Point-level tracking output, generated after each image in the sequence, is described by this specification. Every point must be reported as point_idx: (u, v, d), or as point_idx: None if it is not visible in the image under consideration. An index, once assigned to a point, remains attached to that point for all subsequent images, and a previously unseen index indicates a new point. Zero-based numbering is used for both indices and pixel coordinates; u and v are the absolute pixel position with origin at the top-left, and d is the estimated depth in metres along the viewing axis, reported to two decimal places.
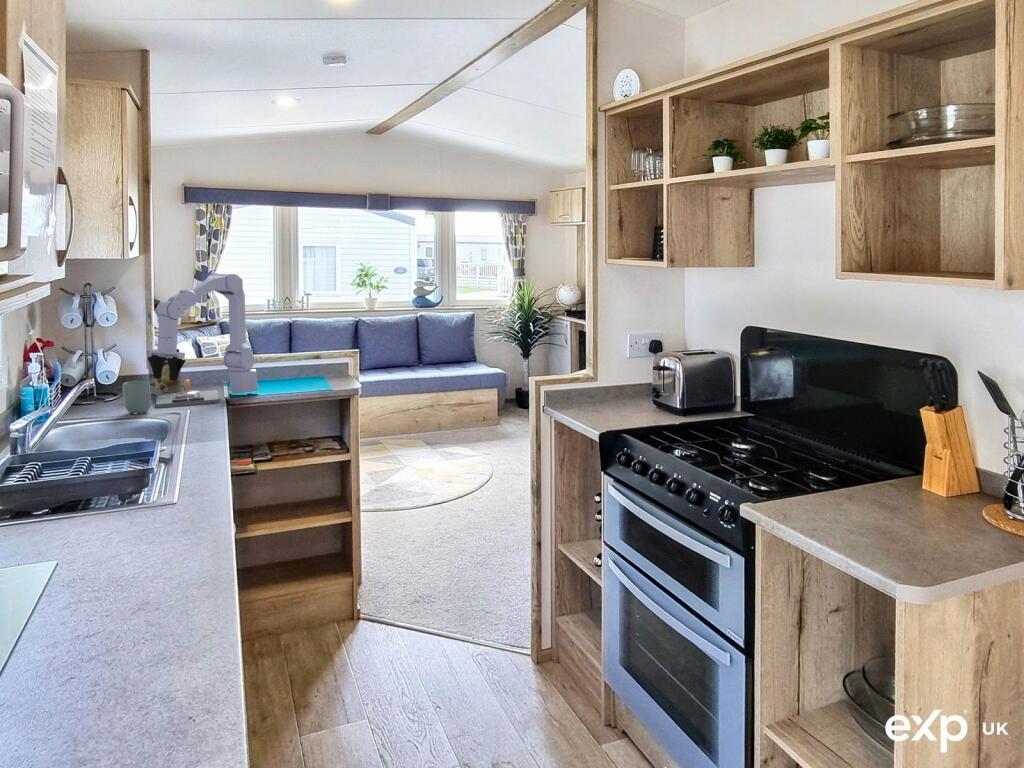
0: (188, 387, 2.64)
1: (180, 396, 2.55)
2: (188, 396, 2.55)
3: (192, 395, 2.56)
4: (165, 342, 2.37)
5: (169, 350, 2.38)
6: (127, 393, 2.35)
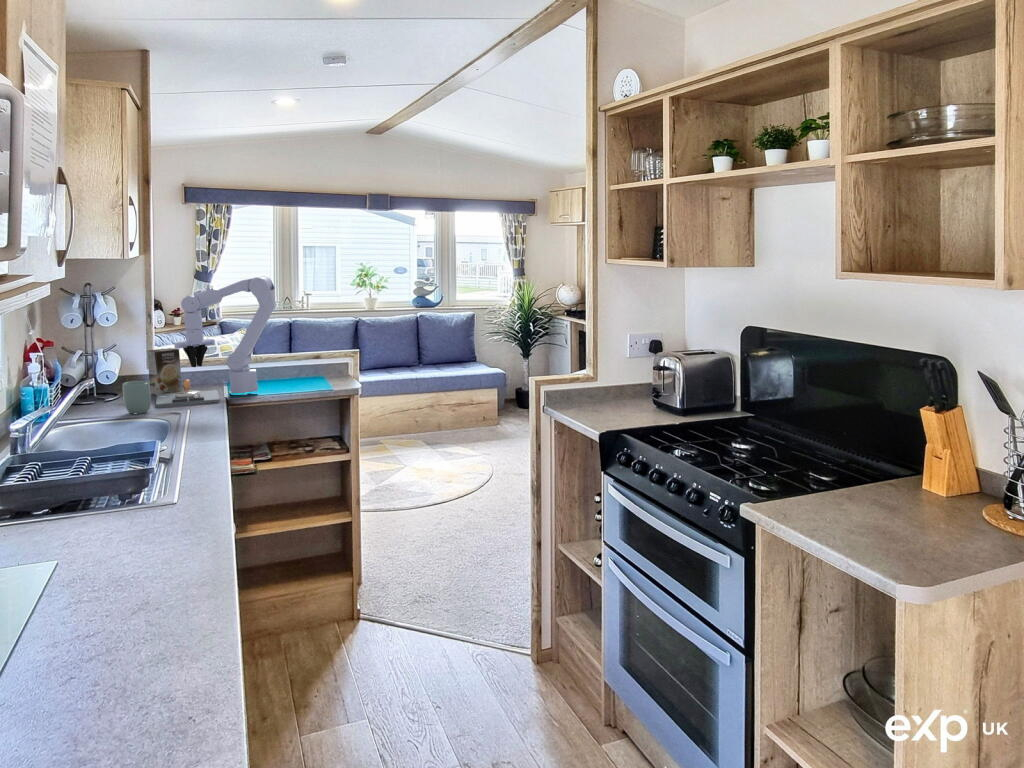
0: (188, 387, 2.64)
1: (180, 396, 2.55)
2: (188, 396, 2.55)
3: (192, 395, 2.56)
4: None
5: (186, 340, 2.64)
6: (127, 393, 2.35)
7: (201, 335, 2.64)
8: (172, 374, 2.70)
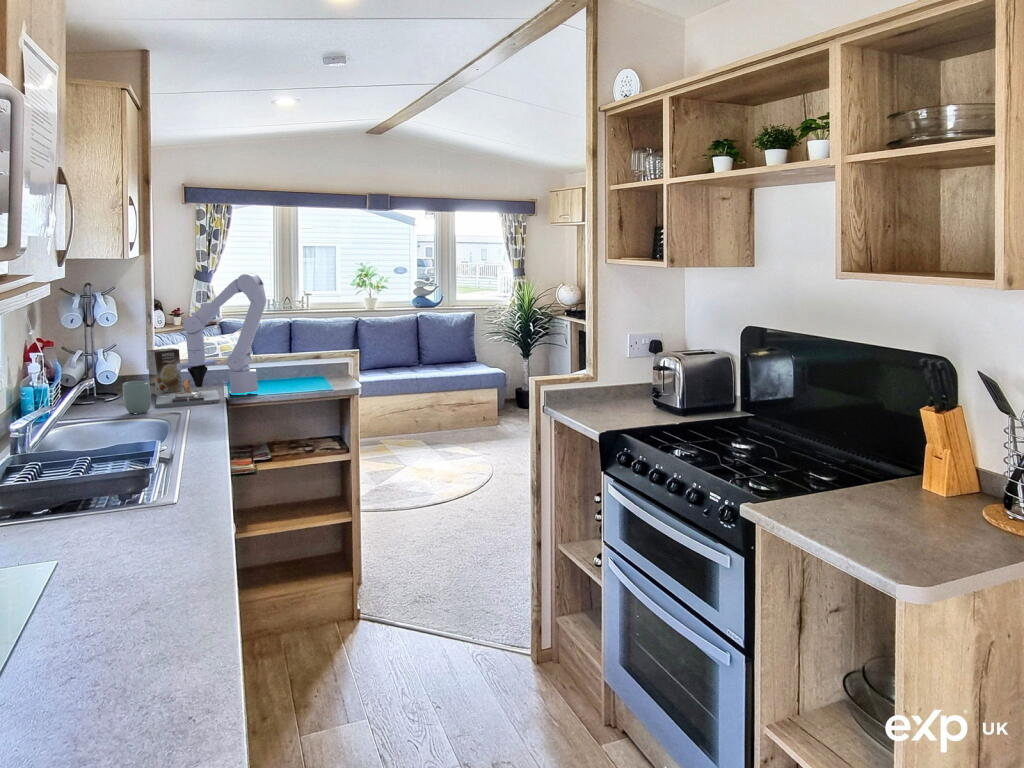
0: (188, 387, 2.64)
1: (180, 396, 2.55)
2: (188, 396, 2.55)
3: (192, 395, 2.56)
4: None
5: (188, 361, 2.65)
6: (127, 393, 2.35)
7: (203, 356, 2.66)
8: (172, 374, 2.70)
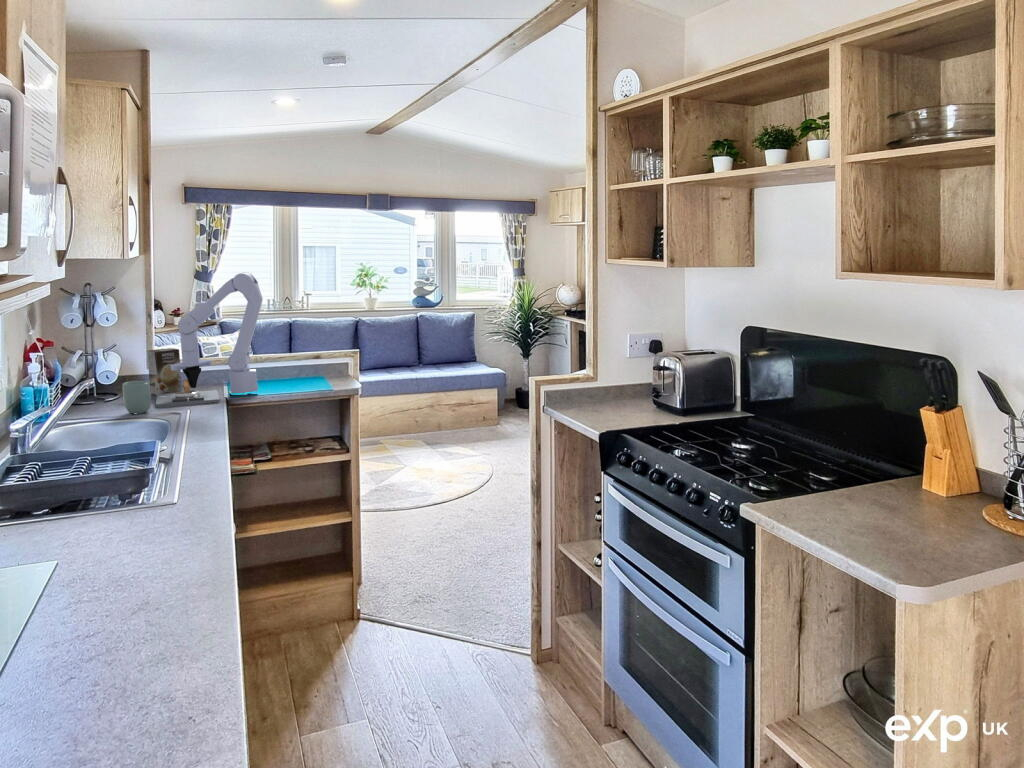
0: (188, 387, 2.64)
1: (180, 396, 2.55)
2: (188, 396, 2.55)
3: (192, 395, 2.56)
4: None
5: None
6: (127, 393, 2.35)
7: (197, 356, 2.64)
8: (172, 374, 2.70)
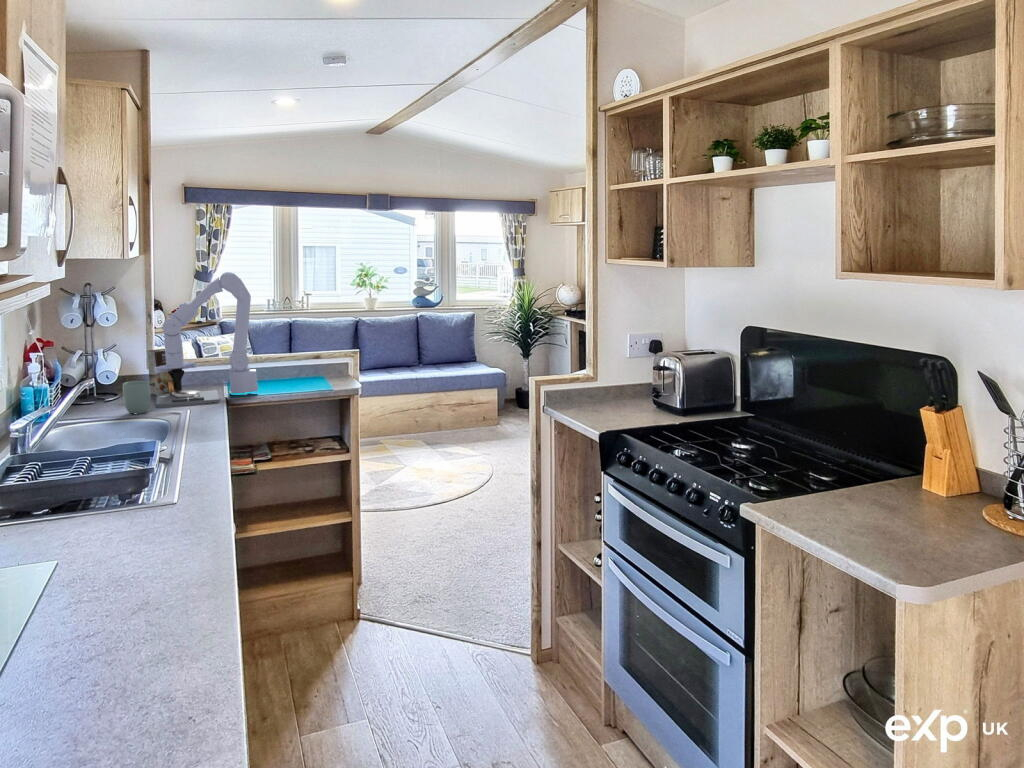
0: (174, 389, 2.61)
1: (189, 396, 2.56)
2: None
3: (199, 393, 2.59)
4: None
5: (166, 364, 2.59)
6: (127, 393, 2.35)
7: (181, 358, 2.59)
8: None
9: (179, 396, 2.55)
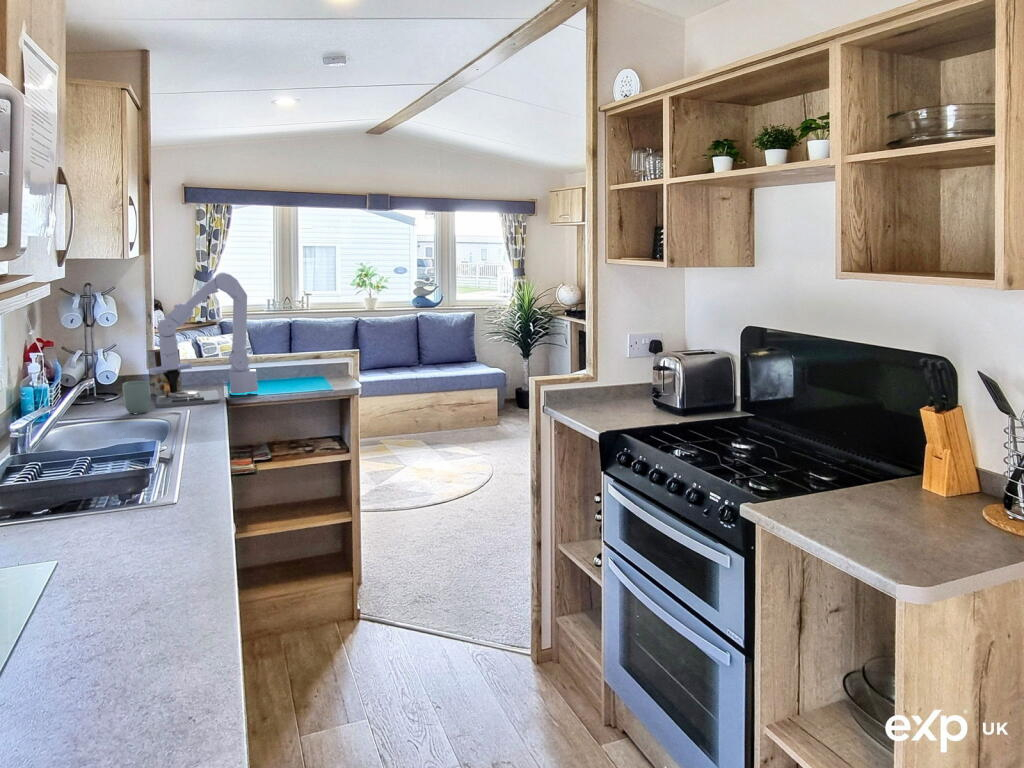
0: (170, 390, 2.59)
1: (193, 395, 2.56)
2: (199, 394, 2.59)
3: (199, 393, 2.60)
4: None
5: None
6: (127, 393, 2.35)
7: (177, 359, 2.57)
8: None
9: (182, 396, 2.55)
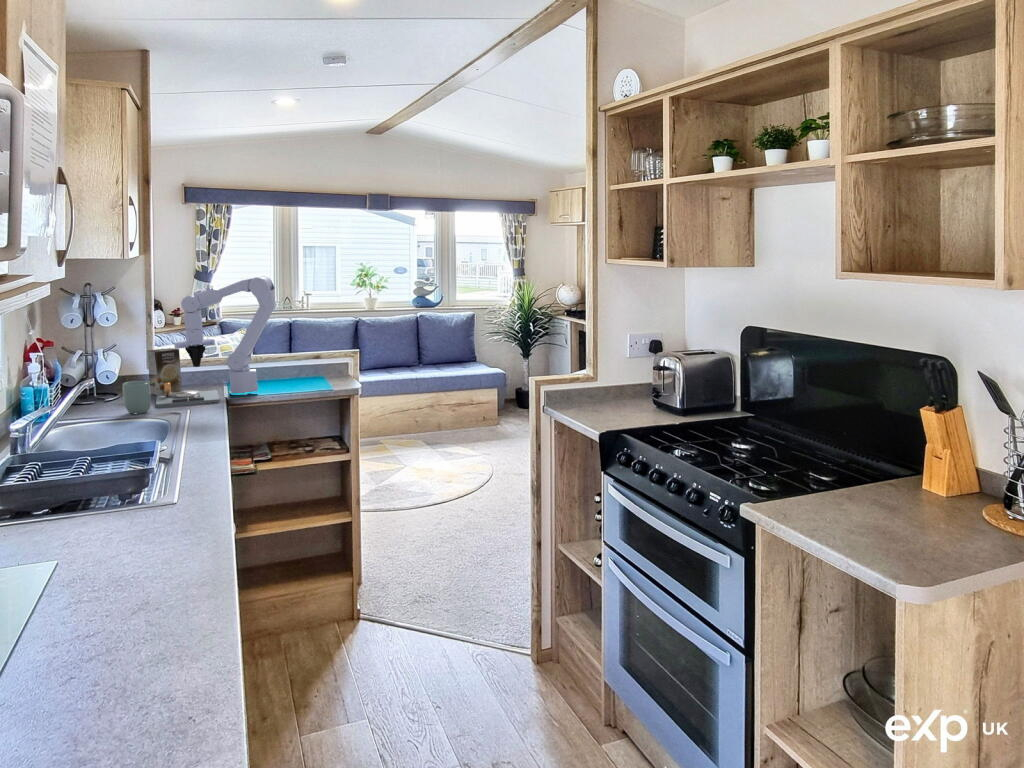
0: (170, 390, 2.59)
1: (193, 395, 2.56)
2: (199, 394, 2.59)
3: (199, 393, 2.60)
4: None
5: (186, 340, 2.64)
6: (127, 393, 2.35)
7: (201, 335, 2.64)
8: (172, 374, 2.70)
9: (182, 396, 2.55)
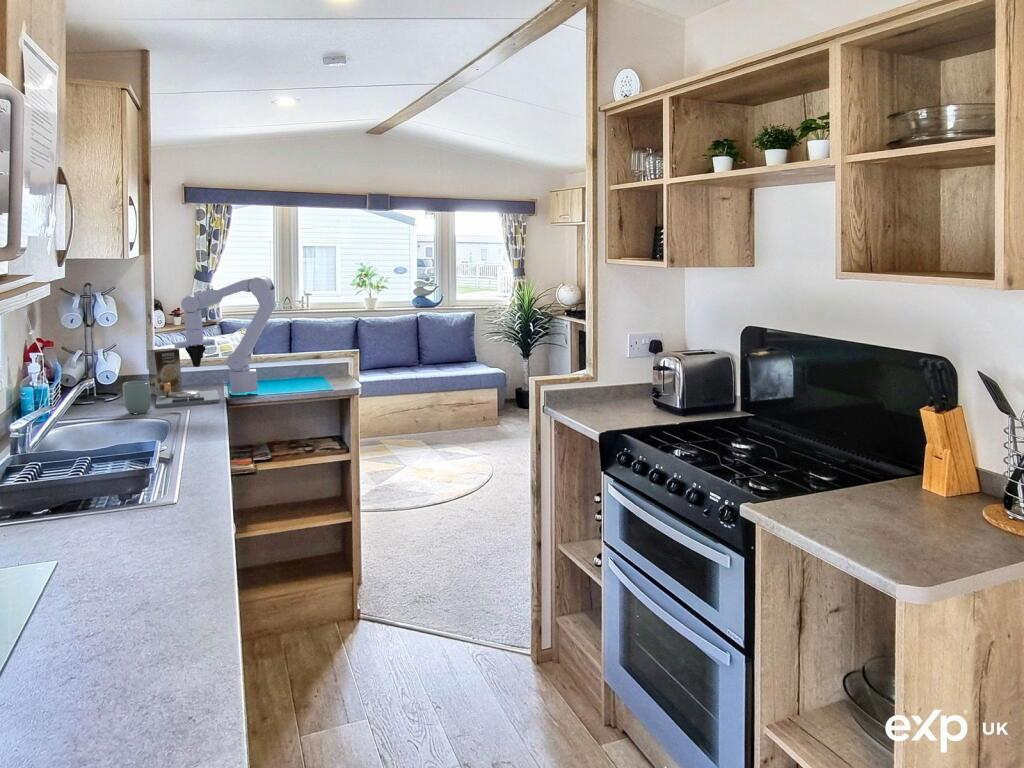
0: (170, 390, 2.59)
1: (193, 395, 2.56)
2: (199, 394, 2.59)
3: (199, 393, 2.60)
4: None
5: (186, 340, 2.64)
6: (127, 393, 2.35)
7: (201, 335, 2.64)
8: (172, 374, 2.70)
9: (182, 396, 2.55)
